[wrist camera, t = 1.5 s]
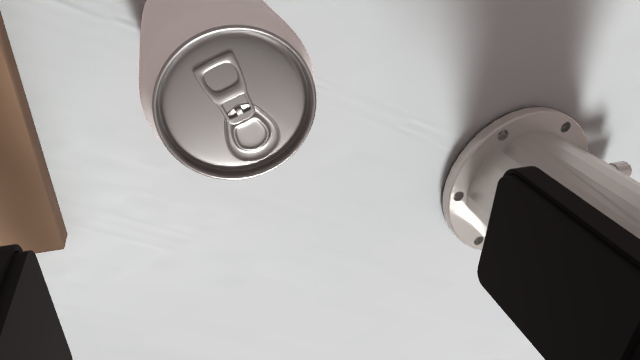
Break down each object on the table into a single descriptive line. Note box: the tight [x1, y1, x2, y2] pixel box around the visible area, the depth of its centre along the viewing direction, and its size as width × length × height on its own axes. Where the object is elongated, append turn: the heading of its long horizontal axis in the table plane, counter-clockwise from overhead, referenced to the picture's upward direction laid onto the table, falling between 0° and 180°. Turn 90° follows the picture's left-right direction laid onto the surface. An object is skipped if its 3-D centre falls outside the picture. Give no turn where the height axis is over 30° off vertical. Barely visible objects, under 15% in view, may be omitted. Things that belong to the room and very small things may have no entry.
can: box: [139, 0, 316, 180], centre depth 22 cm, size 6×6×12 cm
